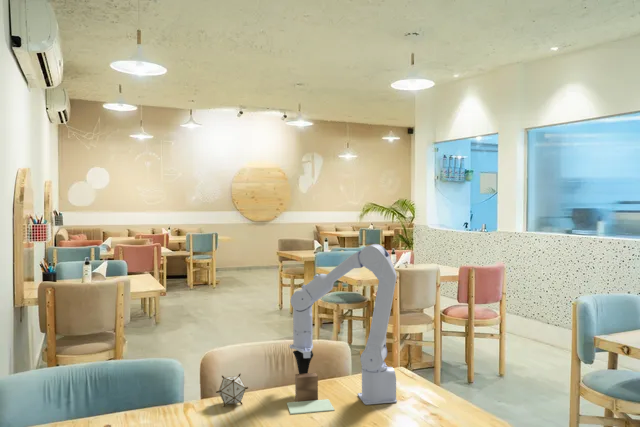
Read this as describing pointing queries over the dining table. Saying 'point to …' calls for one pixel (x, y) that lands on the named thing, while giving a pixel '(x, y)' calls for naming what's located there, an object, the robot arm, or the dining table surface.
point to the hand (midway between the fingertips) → (303, 375)
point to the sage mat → (310, 406)
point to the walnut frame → (306, 387)
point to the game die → (232, 390)
